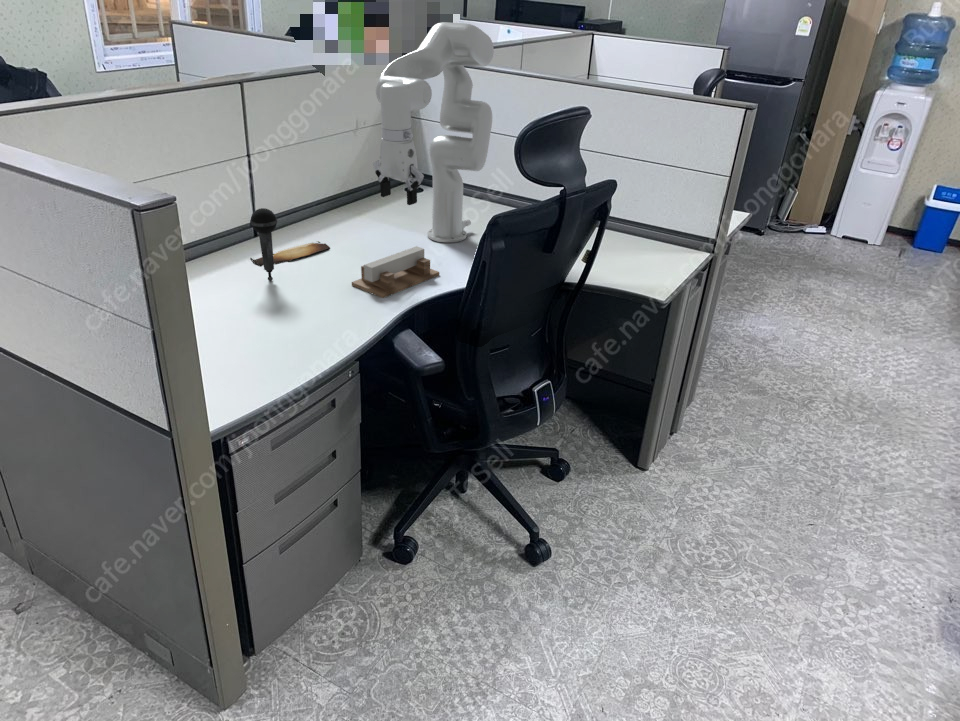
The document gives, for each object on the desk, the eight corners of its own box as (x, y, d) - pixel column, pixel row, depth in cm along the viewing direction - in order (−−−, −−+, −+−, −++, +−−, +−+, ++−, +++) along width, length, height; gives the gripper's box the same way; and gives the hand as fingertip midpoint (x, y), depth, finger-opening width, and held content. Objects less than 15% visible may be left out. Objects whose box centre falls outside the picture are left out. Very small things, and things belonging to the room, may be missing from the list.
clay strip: (416, 259, 204) (416, 246, 202) (424, 262, 203) (424, 248, 201) (364, 279, 191) (363, 264, 189) (372, 282, 189) (371, 267, 187)
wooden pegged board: (408, 264, 209) (408, 247, 207) (439, 275, 203) (439, 258, 200) (351, 285, 194) (350, 268, 192) (383, 298, 188) (382, 280, 185)
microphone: (260, 287, 191) (251, 214, 181) (254, 278, 196) (245, 206, 186) (286, 283, 193) (279, 211, 184) (280, 274, 199) (272, 203, 189)
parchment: (318, 241, 224) (318, 238, 223) (337, 249, 218) (337, 246, 217) (246, 261, 208) (246, 258, 208) (264, 270, 202) (264, 267, 202)
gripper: (431, 137, 181) (432, 203, 190) (383, 126, 190) (385, 189, 199) (411, 143, 176) (412, 210, 185) (362, 131, 185) (365, 196, 194)
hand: (398, 199), depth 192 cm, fingers open, 9 cm apart
